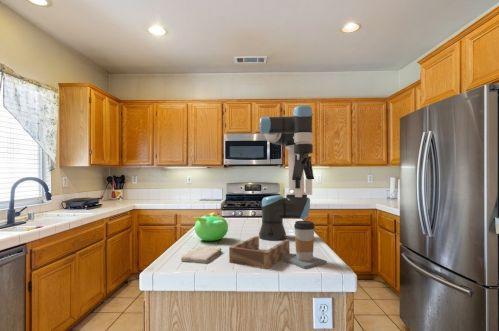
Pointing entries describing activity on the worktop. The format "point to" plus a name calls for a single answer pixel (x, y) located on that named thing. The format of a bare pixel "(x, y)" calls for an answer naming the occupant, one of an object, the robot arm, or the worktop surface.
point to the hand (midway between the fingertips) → (303, 195)
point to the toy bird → (211, 227)
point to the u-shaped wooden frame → (257, 253)
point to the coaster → (303, 264)
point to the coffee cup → (304, 240)
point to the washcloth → (201, 254)
